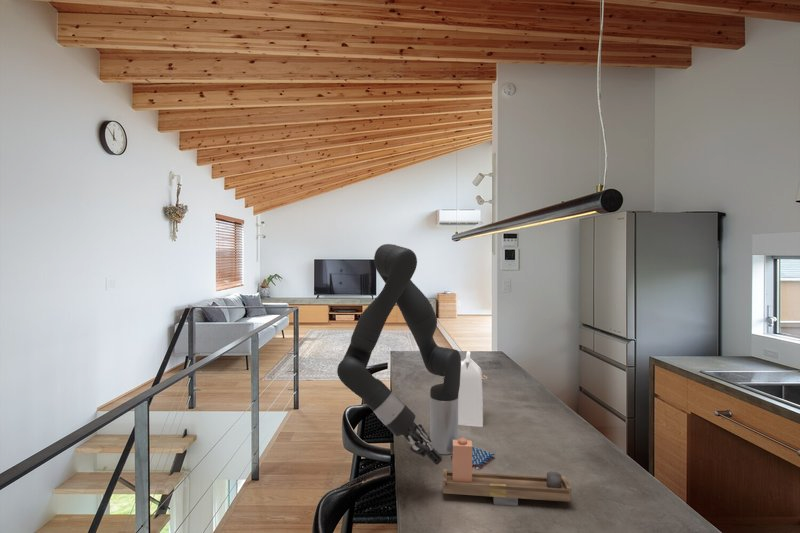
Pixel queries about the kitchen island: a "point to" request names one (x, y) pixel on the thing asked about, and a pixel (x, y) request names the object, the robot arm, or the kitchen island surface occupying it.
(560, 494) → the beam
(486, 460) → the woven mat
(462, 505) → the kitchen island surface
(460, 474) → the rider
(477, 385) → the milk
